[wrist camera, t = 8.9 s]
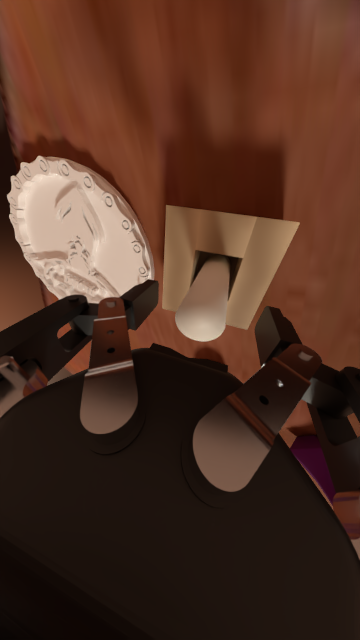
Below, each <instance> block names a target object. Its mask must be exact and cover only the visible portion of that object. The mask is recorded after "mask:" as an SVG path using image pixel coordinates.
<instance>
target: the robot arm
mask: <svg viewBox="0 0 360 640" xmlns="http://www.w3.org/2000/svg"><path fill="white" fill-rule="evenodd" d="M158 287H159V284H158V281H155V280H150V279H147V280H146V281H145V282H144V283H142V284H138V285H135V286H134V287H132V288H131V289H130V290H128V291H127V292H126V293H124V294H123V295H121V296H120V297H119V298H118V297H108V298H105V299H102V300H101V301H100V302H99V303H88V300H87V297H86V296H84V295H70V296H66V297H64V298H62V299H60V300H58V301H56V302H55V303H53V304H51V305H49V306H47V307H45V308H43V309H42V310H40V311H38V312H36V313H34V314H33V315H30V316H29V317H27V318H25V319H23V320H21V321H19V322H18V323H16V324H14V325H12V326H10V327H8V328H6V329H4V330H3V331H1V332H0V640H360V436H359V437H358V438H357V436H356V434H355V432H354V430H353V428H352V426H351V424H350V422H349V420H348V418H347V416H348V415H350V414H352V413H355V415H356V417H357V419H358V421H359V423H360V369H358V368H355V367H345V368H344V369H342V370H341V371H340V372H339V371H337V370H335V369H333V368H331V367H328V366H326V365H324V364H322V359H321V357H320V356H319V355H318V354H317V353H316V352H315V351H314V350H312V349H311V348H309V347H307V346H305V345H303V344H302V342H301V341H300V339H299V337H298V335H297V333H296V331H295V329H294V327H293V325H292V323H291V322H290V321H289V320H288V319H287V318H286V317H283V315H282V313H281V311H280V309H279V308H274V307H270V306H266V307H265V309H264V311H263V312H262V314H261V316H260V318H259V320H258V322H257V324H256V327H255V336H256V342H257V347H258V353H259V359H260V365H261V369H260V370H259V371H258V372H256V373H255V374H254V375H253V376H252V377H251V378H250V379H249V380H247V381H246V382H245V383H244V384H243V383H242V382H241V381H240V380H238V379H237V378H236V377H235V376H233V375H232V374H230V373H229V372H227V371H228V365H225V364H221V363H218V362H215V361H211V360H208V359H196V358H188V357H185V356H183V355H182V354H180V353H178V352H176V351H174V350H173V349H171V348H168V347H165V346H161V345H158V344H155V343H153V344H152V345H151V347H150V348H139V349H134V350H131V347H130V341H129V334H128V330H129V329H132V330H137V328H138V327H139V326H140V325H141V324H142V323H143V321H144V320H145V319H146V318H147V317H148V315H149V314H150V313H151V312H152V311H153V309H154V308H155V307H156V306H157V303H158ZM68 322H69V324H70V326H71V328H72V329H71V330H70V331H68V332H67V333H66V334H65V335H63V336H62V337H61V338H59V339H58V337H57V332H58V330H59V329H60V328H61V327H63V326H64V325H65V324H67V323H68ZM91 340H92V342H91V351H90V361H89V368H88V369H86V370H83V371H81V372H79V373H76V374H74V375H72V376H70V377H67V378H65V379H63V380H60V381H58V382H55V383H53V384H51V385H48V386H47V383H48V381H49V380H50V379H51V378H52V377H53V376H54V375H55V374H56V373H58V372H59V371H60V370H61V369H62V368H63V367H64V366H65V365H66V364H67V363H68V362H69V361H70V360H71V359H72V358H73V357H74V356H75V355H76V354H77V353H78V352H79V351H80V350H81V349H82V348H83V347H84V346H85V345H86V344H87V343H88V342H89V341H91ZM301 399H302V400H304V401H306V402H307V405H308V408H309V411H310V414H311V417H312V421H313V424H314V427H315V430H316V433H317V436H318V439H319V442H320V445H321V448H322V452H323V455H324V458H325V461H326V464H327V467H328V470H329V473H330V476H331V479H332V483H333V486H334V489H335V492H336V494H335V496H334V498H333V509H332V508H331V506H330V505H329V504H328V502H327V501H326V499H325V498H324V497H323V495H322V494H321V492H320V491H319V490H318V488H317V487H316V485H315V484H314V482H313V481H312V480H311V478H310V477H309V475H308V474H307V473H306V471H305V470H304V468H303V467H302V466H301V464H300V463H299V461H298V460H297V458H296V457H295V456H294V454H293V453H292V451H291V450H290V448H289V447H288V446H287V444H286V443H285V441H284V440H283V439H282V437H281V436H280V434H279V433H278V432H279V431H280V429H281V428H282V427H283V425H284V424H285V422H286V421H287V419H288V418H289V416H290V415H291V413H292V412H293V410H294V409H295V407H296V406H297V404H298V403H299V401H300V400H301ZM333 510H334V511H333Z"/></svg>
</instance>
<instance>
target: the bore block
mask: <svg viewBox="0 0 360 640" xmlns="http://www.w3.org/2000/svg"><path fill="white" fill-rule="evenodd" d="M299 224H300V223H299V222H293V221H286V220H279V219H271V218H263V217H256V216H248V215H241V214H233V213H225V212H218V211H210V210H203V209H195V208H187V207H179V206H171V205H166V225H165V251H164V277H163V304H162V309H166V310H170V311H174V312H177V310H178V308H179V306H180V304H181V303H182V301H183V299H184V298H185V296H186V294H187V292H188V291H189V289H190V287H191V286H192V284H193V282H194V280H195V279H196V277H197V275H198V274H199V272H200V270H201V268H202V267H203V265H204V263H205V262H206V260H207V258H208V257H209V256H211V255H213V254H222V255H225V256H227V257H228V259H229V260H230V264H231V267H230V278H229V289H228V300H227V311H226V322H225V324H226V325H230V326H234V327H238V328H242V329H246V330H247V329H248V327H249V325H250V323H251V321H252V319H253V317H254V315H255V313H256V311H257V309H258V307H259V305H260V303H261V301H262V299H263V297H264V295H265V293H266V291H267V289H268V287H269V285H270V283H271V281H272V279H273V277H274V275H275V273H276V271H277V269H278V267H279V264H280V262H281V260H282V258H283V256H284V254H285V252H286V250H287V248H288V246H289V244H290V242H291V240H292V238H293V236H294V234H295V232H296V230H297V228H298V226H299Z"/></svg>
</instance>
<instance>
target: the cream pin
mask: <svg viewBox="0 0 360 640" xmlns="http://www.w3.org/2000/svg"><path fill="white" fill-rule="evenodd" d="M230 267H231V264H230V260H229V259H228V257H227V256H225V255H222V254H213V255H211V256H209V257H208V258H207V260H206V262H205V263H204V265H203V267H202V268H201V270H200V272H199V274H198V275H197V277H196V279H195V280H194V282H193V284H192V286H191V287H190V289H189V291H188V292H187V294H186V296H185V298H184V299H183V301H182V303H181V304H180V306H179V308H178V310H177V312H176V315H175V321H176V325H177V327H178V328H179V330H180V331H181V332H182V333H183V334H184V335H185V336H187V337H189V338H191V339H193V340H197V341H210V340H213V339H216V338H217V337H219V336H220V335H221V334H222V333H223V331H224V329H225V322H226V311H227V300H228V289H229V278H230Z"/></svg>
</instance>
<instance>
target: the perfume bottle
mask: <svg viewBox="0 0 360 640" xmlns="http://www.w3.org/2000/svg"><path fill="white" fill-rule="evenodd" d="M290 450H291V451H292V453H293V454H294V456H295V457H296V458H297V460H298V461H299V462H300V463H301V464H302V465H303V466H304V468H305V469H306V470H307V471H308V472H309V473H310V475H311V476H312V477H313V478H314V479H315V480H316V482H317V483H318V484H319V486H320V487H321V489H322V490H323V492H324V493H325V494H326V496H327V498H328V499H329V501H330V503H331V504H332V506H333V498H334V496H335V494H336V492H335V489H334V486H333V483H332V479H331V476H330V473H329V470H328V467H327V464H326V461H325V458H324V455H323V452H322V448H321V445H320V442H319V439H318V437H317V436H316V435H309V436H299V437H296V439H295V441H294V443H293V444H292V446H291V448H290Z"/></svg>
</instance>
